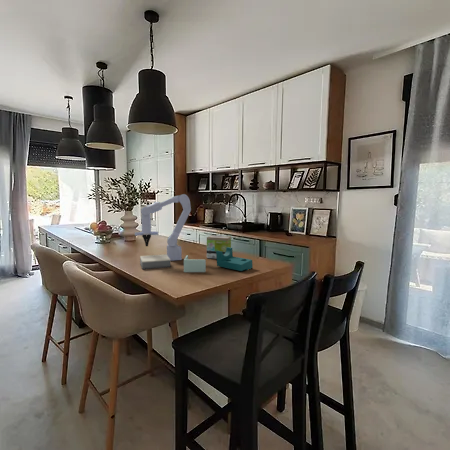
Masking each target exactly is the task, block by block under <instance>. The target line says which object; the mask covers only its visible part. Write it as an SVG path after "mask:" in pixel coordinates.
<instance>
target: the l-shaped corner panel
mask: <svg viewBox="0 0 450 450" xmlns="http://www.w3.org/2000/svg"><path fill="white" fill-rule="evenodd" d="M206 260H207V259H201V258H200V259H198V258H197V259H196V258H195V259H189V255H185V257H184V259H183V273H206V270H207V269H206V268H207V267H206V266H207V265H206Z"/></svg>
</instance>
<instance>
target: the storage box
mask: <svg viewBox="0 0 450 450" xmlns="http://www.w3.org/2000/svg"><path fill="white" fill-rule="evenodd" d="M139 258H140V257H139ZM139 260H140V261H139V262H140V263H139V264H140V267H141V270H151V269H152V270H153V269H162V268H170V267H171V261H170V260H168V261H155V262H142V261H141V258H140V259H139Z"/></svg>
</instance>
